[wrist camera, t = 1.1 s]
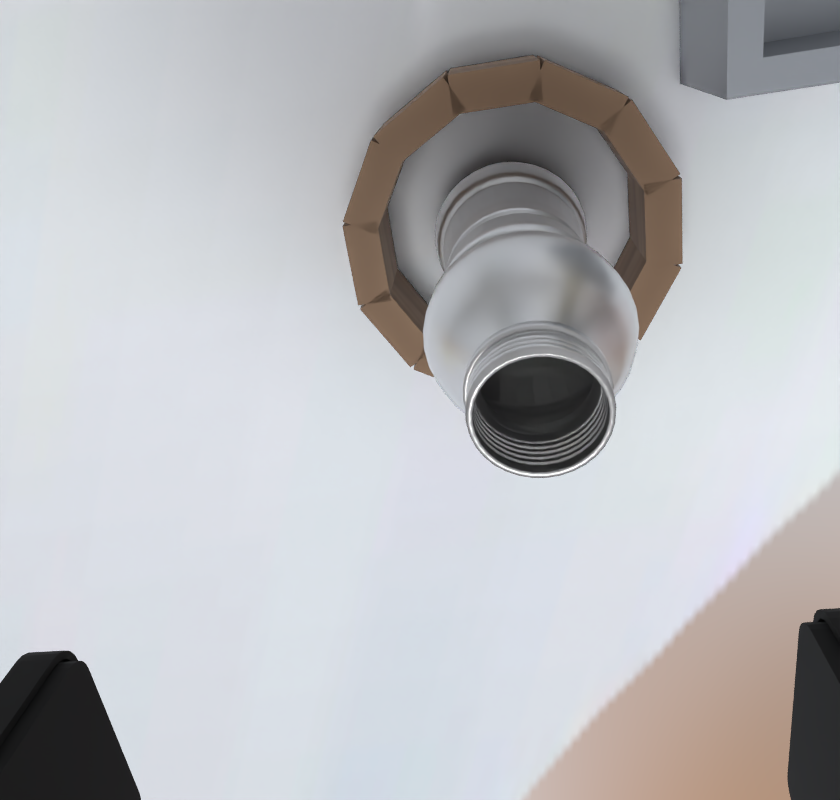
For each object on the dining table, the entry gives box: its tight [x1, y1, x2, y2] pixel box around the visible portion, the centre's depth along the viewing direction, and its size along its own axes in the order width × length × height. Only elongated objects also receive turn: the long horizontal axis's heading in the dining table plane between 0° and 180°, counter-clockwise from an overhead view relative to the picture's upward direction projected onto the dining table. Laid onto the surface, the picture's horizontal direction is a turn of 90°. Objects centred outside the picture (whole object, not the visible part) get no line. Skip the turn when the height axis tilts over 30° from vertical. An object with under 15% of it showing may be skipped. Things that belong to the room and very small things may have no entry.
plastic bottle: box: [423, 162, 639, 478], centre depth 28 cm, size 6×7×20 cm
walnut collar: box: [343, 55, 682, 377], centre depth 35 cm, size 14×14×4 cm
